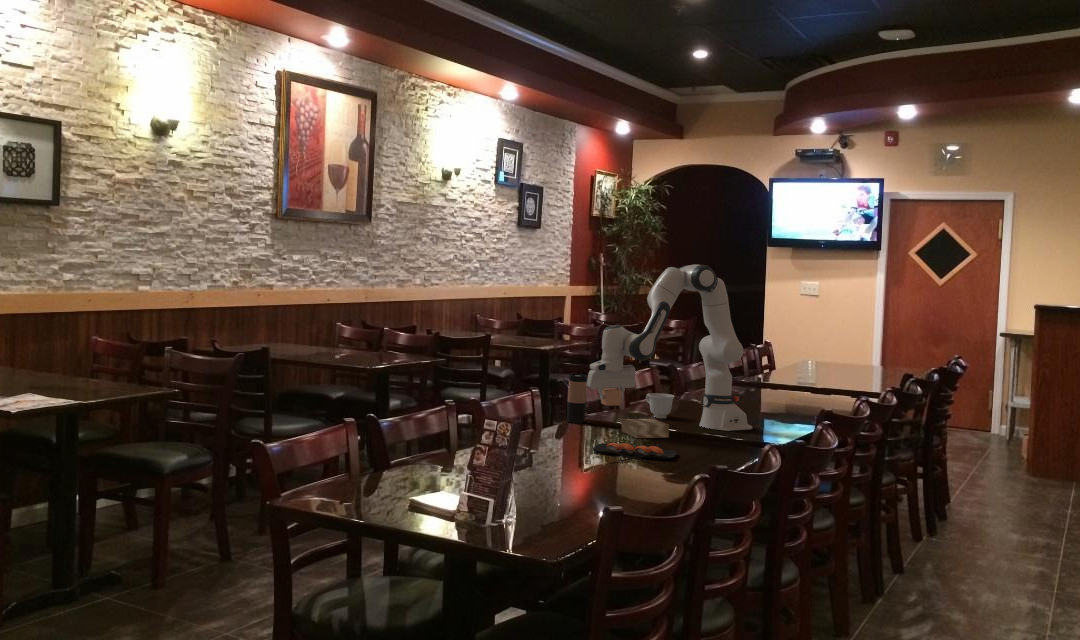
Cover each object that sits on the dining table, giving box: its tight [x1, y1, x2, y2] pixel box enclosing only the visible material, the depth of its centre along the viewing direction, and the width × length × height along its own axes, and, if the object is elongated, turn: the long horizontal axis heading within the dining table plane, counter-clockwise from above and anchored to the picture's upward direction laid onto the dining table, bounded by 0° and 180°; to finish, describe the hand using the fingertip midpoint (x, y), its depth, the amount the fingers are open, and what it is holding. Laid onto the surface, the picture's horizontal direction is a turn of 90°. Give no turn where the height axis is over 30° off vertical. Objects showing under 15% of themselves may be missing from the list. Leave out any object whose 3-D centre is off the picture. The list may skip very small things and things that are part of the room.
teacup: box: [645, 392, 675, 419], centre depth 424 cm, size 12×15×10 cm
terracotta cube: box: [600, 388, 622, 406], centre depth 386 cm, size 6×6×6 cm
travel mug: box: [566, 373, 588, 425], centre depth 398 cm, size 8×8×20 cm
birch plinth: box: [620, 418, 670, 439], centre depth 378 cm, size 14×14×5 cm
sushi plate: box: [592, 442, 678, 464], centre depth 329 cm, size 29×30×4 cm
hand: (611, 398), depth 386 cm, fingers closed on terracotta cube, 6 cm apart
